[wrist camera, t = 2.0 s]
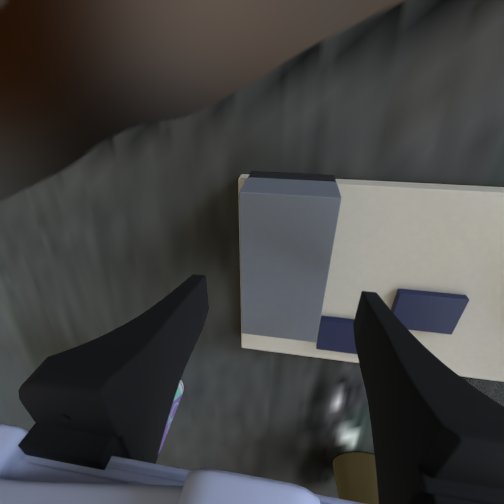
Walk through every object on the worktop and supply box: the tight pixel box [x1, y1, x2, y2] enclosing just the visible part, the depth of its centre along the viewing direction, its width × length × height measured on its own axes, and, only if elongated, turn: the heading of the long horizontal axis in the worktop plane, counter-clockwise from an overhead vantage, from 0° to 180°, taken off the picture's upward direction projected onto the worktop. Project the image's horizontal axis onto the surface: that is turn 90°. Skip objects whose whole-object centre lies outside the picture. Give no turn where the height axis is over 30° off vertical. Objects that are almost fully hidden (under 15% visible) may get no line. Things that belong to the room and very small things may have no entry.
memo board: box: [238, 174, 504, 382], centre depth 19 cm, size 20×14×1 cm
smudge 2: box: [316, 316, 357, 354], centre depth 21 cm, size 4×3×1 cm
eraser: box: [239, 171, 342, 342], centre depth 16 cm, size 9×4×4 cm, turn 0°
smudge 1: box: [391, 288, 469, 335], centre depth 19 cm, size 4×3×1 cm
